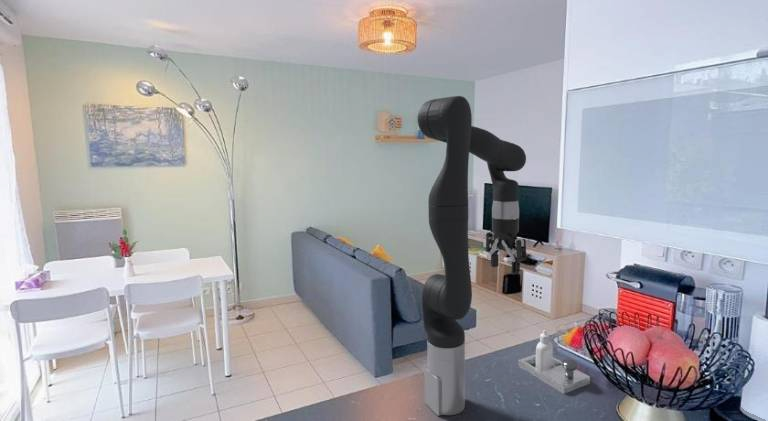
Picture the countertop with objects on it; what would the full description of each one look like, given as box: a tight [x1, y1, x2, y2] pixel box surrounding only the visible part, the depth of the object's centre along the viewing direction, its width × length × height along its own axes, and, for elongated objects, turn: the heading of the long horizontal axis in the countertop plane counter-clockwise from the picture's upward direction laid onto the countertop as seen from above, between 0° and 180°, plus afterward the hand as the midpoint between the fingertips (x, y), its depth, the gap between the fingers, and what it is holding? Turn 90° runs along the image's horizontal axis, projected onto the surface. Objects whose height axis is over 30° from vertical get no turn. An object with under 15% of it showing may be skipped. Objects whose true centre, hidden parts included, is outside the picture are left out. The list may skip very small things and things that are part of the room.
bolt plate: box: [517, 353, 591, 395], centre depth 114 cm, size 10×16×6 cm, turn 26°
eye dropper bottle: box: [535, 329, 554, 372], centre depth 116 cm, size 4×6×12 cm
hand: (504, 270), depth 120 cm, fingers open, 8 cm apart
